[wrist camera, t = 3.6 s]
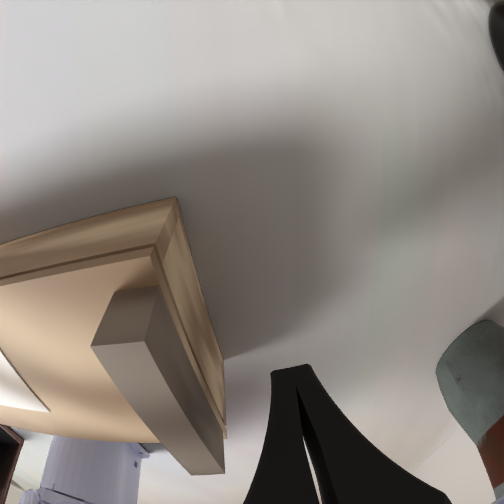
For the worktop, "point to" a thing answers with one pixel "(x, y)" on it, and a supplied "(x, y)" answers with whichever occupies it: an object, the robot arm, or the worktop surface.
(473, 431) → the vodka
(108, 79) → the worktop surface
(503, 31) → the supplement bottle
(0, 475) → the letter holder
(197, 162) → the worktop surface
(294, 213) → the worktop surface
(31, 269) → the box
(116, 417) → the mailer lid
